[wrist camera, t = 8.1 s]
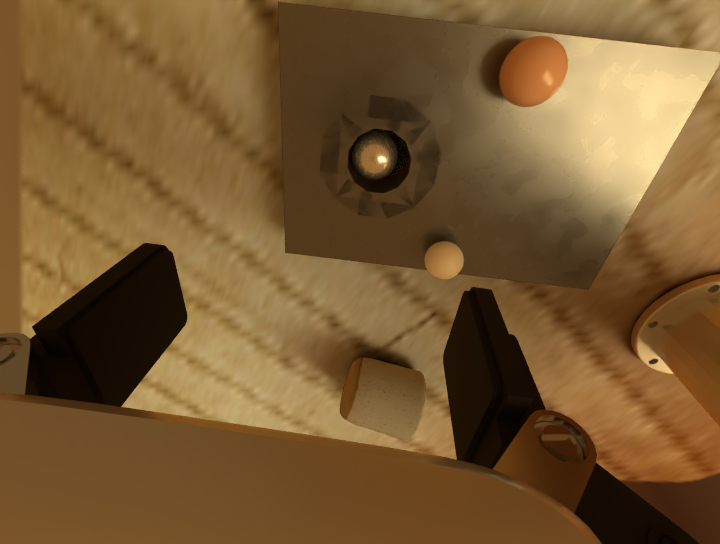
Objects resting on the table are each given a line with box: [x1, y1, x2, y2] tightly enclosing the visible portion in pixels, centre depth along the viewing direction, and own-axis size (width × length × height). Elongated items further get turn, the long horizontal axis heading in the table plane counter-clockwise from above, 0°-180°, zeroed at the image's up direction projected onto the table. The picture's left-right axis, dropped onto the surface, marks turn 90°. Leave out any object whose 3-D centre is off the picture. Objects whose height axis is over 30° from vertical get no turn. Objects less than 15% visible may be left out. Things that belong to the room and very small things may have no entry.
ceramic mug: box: [340, 357, 426, 441], centre depth 39 cm, size 11×8×8 cm
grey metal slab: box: [278, 2, 720, 290], centre depth 26 cm, size 26×17×4 cm, turn 84°
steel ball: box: [352, 131, 398, 179], centre depth 26 cm, size 4×4×4 cm
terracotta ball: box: [499, 36, 568, 107], centre depth 19 cm, size 4×4×4 cm
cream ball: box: [424, 241, 464, 279], centre depth 27 cm, size 3×3×3 cm
